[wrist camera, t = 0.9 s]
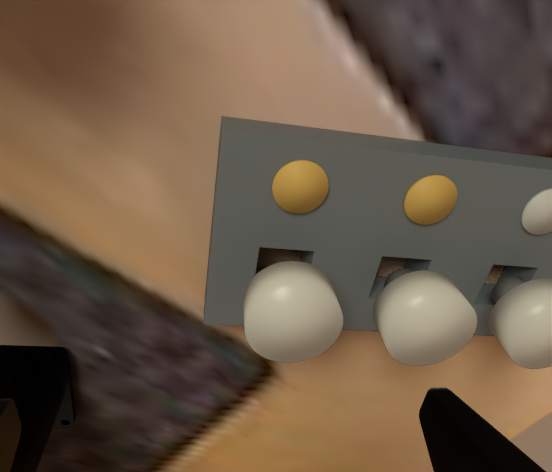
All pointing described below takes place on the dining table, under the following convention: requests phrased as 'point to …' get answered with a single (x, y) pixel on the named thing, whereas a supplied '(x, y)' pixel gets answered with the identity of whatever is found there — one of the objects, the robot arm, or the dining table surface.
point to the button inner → (291, 312)
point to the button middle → (423, 317)
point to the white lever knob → (523, 320)
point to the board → (373, 214)
